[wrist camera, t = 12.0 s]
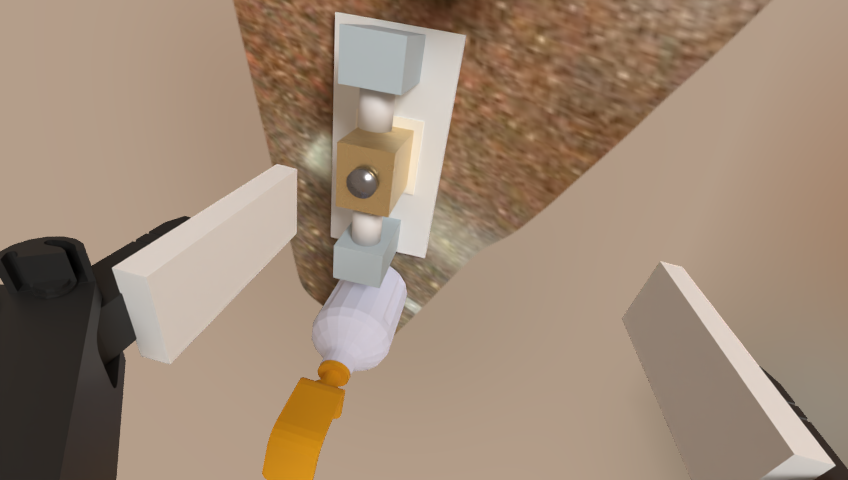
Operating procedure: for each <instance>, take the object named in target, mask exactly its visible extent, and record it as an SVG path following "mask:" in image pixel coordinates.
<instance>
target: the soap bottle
mask: <svg viewBox="0 0 848 480" xmlns="http://www.w3.org/2000/svg"><path fill="white" fill-rule="evenodd" d="M406 296H407V290H406V285H405V282H404V281H403V279H402V277H401V276H400V274H399V273H398V272H397V271H395V270H394V269H393V268H392V267H391V266H389V268H388V270H387V272H386V275H385V277H384V279H383V281H382V284H381V286H380V288H376V287H372V286H368V285H363V284H359V283H355V282H350V281H346V280H342V279H340V280H339V282H338V283H337V285H336V287H335V288H334V290H333V291H332V293H331V295H330V296H329V298H328V299H327V301H326V303H325V304H324V306H323V307H322V309H321V311H320V312H319V314H318V315H317V317H316V319H315V320H314V322H313V331H312V340H313V343H314V346H315V348H316V350H317V351H318V352H319V353H320V355H321V356H322V357H323V360H322V362H321V364H320V367H319V369H318V375H319V377H320V378H321V380H317V381H314V380H310V379H307V378H304V377H303V378H301V379H300V380H299V382H298V384H297V385H296V387H295V389H294V391H293V392H292V394H291V396H290V398H289V399H288V402H287V403H286V405H285V407H284V408H283V410H282V412H281V414H280V415H279V417H278V419H277V421H276V423H275V425H274V427H273V429H272V432H271V434H270V438H269V441H268V445H267V450H266V455H265V461H264V466H263V471H262V474H263V476H264V478H266V479H267V480H313V478H314V474H315V470H316V466H317V461H318V457H319V454H320V450H321V447H322V444H323V441H324V439H325V436H326V433H327V431H328V429H329V426H330V424H331V422H332V419H337V418H339V417H340V416H341V413H342V407H343V401H344V396H345V390H343V389H340V388H338V386H344V385H345V384H347V382H348V380H349V378H350V376H351V374H352V372H353V371H362V370H368V369H371V368H373V367H375V366H377V365H378V364H379V363H380V361H382V360H383V358H384V357H385V356H386V355H387V354H388V351H389V348H390V345H391V342H392V339H393V336H394V333H395V330H396V327H397V324H398V322H399V319H400V316H401V313H402V310H403V307H404V304H405V300H406Z"/></svg>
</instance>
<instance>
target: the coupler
mask: <svg viewBox="0 0 848 480" xmlns="http://www.w3.org/2000/svg"><path fill="white" fill-rule="evenodd" d="M413 136H414V130H409V129H403V128H398V127H393V126H392V131H391V132H387V133H375V132H369V131H365V130H362V129H360V128H359V127H358V128H356V129H355V130H353V131H352V132H350V133H349V134H348V135H346V136H345V137H343V138H342V139H340V140H339V141H338V142H337V169H336V206H337V207H342V208H347V209H351V210H356V211H361V212H365V213H370V214H374V215H379V216H384V217H389V216H390V214H391V212H392V210H393V209H394V207H395V205H396V203H397V202H398V200H399V198H400V196H401V195H402V193H403V191H404V189H405V188H406V186H407V181H408V173H409V166H410V158H411V151H412V143H413Z"/></svg>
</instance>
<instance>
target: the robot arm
mask: <svg viewBox="0 0 848 480" xmlns="http://www.w3.org/2000/svg"><path fill="white" fill-rule="evenodd" d="M296 233H297V169H294V168H291V167H287V166H283V165H279V164H276V165H275V166H273V167H271V168H270V169H268V170H267V171H265V172H264V173H262V174H260V175H259V176H257V177H255V178H254V179H252V180H251V181H249V182H248V183H246V184H244V185H243V186H241V187H240V188H238V189H236V190H235V191H233V192H232V193H230V194H228V195H227V196H225V197H224V198H222V199H220V200H219V201H217V202H216V203H214V204H213V205H211V206H209V207H208V208H206V209H205V210H203V211H202V212H200V213H198V214H197V215H195V216H193V217H192V218H190V217H187V216H184V217H180V218H178V219H174V220H171V221H168V222H165V223H163V224H162V225H160V226H158V227H156V228H155V229H153V230H151V231H150V232H149V234H145V235H143V236H141V237H140V238H138V239H137V240H136V242H131V243H129V244H128V245H126V246H124V247H123V248H121V249H119V250H117V251H116V252H114V253H112V254H111V255H109V256H107V257H106V258H104V259H102V260H101V261H99V262H97V263H96V264H94V265H92V266H91V263H90V261H89V258H88V256H87V253H86V250H85V247H84V244H83V243H81V242H80V241H78V240H77V239H73V238H68V237H43V238H37V239H31V240H27V241H24V242H21V243H18V244H14V245H12V246H10V247H8V248H6V249H4V250H2V251H0V278H1V280H2V282H3V283H4V285H0V480H116V476H117V462H118V449H119V437H120V425H121V412H122V399H123V386H124V373H125V361H126V360H125V357H124V353H123V350H124V349H125V348H127V347H128V346H129V345H130V344H131V343H133V342H134V341H135V340H136V342H137V345H138V348H139V351H140V354H141V356H142V357H146V358H149V359H153V360H156V361H160V362H163V363H167V364H171V363H172V362H173V361H174V360H175V359H176V358H177V357H178V356H179V355H180V354H181V353H182V352H183V351H184V350H185V349H186V347H188V345H190V343H191V342H192V341H193V340H194V339H195V338H196V337H197V336H198V335H199V334H200V333H201V332H202V331H203V330H204V329H205V328H206V327H207V326H208V325H209V324H210V323H211V322H212V321H213V320H214V319H215V318H216V316H217V315H218V314H219V313H220V312H221V311H222V310H223V309H224V308H225V307H226V306H227V305H228V304H229V303H230V302H231V301H232V300H233V299H234V298H235V297H236V296H237V295H238V293H240V292H241V291H242V289H243V288H244V287H245V286H246V285H247V284H248V283H249V282H250V281H251V280H252V279H253V278H254V277H255V276H256V275H257V274H258V273H259V272H260V270H262V269H263V268H264V267H265V265H267V264H268V263H269V261H270V260H271V259H272V258H273V257H274V256H275V255H276V254H277V253H278V252H279V251H280V250H281V249H282V248H283V247H284V246H285V245H286V244H287V243H288V242H289V241H290V240H291V239H292V238H293V237H294V236H295V235H296ZM622 320H623V322H624V325H625V327H626V329H627V332H628V334H629V336H630V339H631V341H632V343H633V346H634V348H635V350H636V353H637V355H638V357H639V359H640V362H641V364H642V367H643V369H644V371H645V373H646V376H647V378H648V381H649V383H650V385H651V387H652V390H653V392H654V394H655V397H656V399H657V402H658V404H659V406H660V409H661V411H662V413H663V416H664V418H665V420H666V422H667V425H668V427H669V429H670V432H671V434H672V436H673V439H674V441H675V443H676V446H677V448H678V450H679V453H680V455H681V457H682V460H683V462H684V464H685V467H686V469H687V471H688V474H689V476H690V478H691V480H848V469H847V468H846V466H845V465H844V464H843V463H842V461H841V460H840V459H839V457H838V456H837V455H836V454H835V452H834V451H833V450H832V449H831V447H830V446H829V445H828V444H827V442H826V441H825V440H824V439H823V437H822V436H821V435H820V433H819V432H818V431H817V430H816V429H815V427H814V426H813V425H812V423H810V422H808V421H807V417H806V416H805V415H804V413H803V412H802V411H801V410H800V408H799V407H798V406H795V402H794V401H793V400H792V398H791V397H790V396H789V394H788V393H787V392H786V391H785V389H784V388H783V387H782V386H781V384H780V383H778V382H777V381H776V380H775V379H774V378H773V377H772V376H771V375H769V374H768V373H767V372H766V371H765V370H764V369H763V368H761V367H760V366H758V364H757V363H756V362H755V360H754V359H753V358H752V356H751V355H750V354H749V353H748V351H747V350H746V349H745V347H744V346H743V345H742V344H741V342H740V341H739V340H738V338H737V337H736V336H735V334H734V333H733V332H732V331H731V329H730V328H729V327H728V325H727V324H726V323H725V322H724V320H723V319H722V318H721V316H720V315H719V314H718V313H717V311H716V310H715V309H714V307H713V306H712V305H711V304H710V302H709V301H708V300H707V298H706V297H705V296H704V294H703V293H702V292H701V291H700V289H699V288H698V287H697V285H696V284H695V283H694V281H693V280H692V279H691V278H690V276H689V275H688V274H687V272H686V271H685V270H684V269H683V267H681V266H677V265H673V264H668V263H665V262H661V261H660V262H659V264H658V265H657V267H656V268H655V270H654V271H653V273H652V274H651V276H650V277H649V279H648V280H647V282H646V283H645V285H644V286H643V288H642V289H641V291H640V292H639V294H638V295H637V297H636V298H635V300H634V301H633V303H632V304H631V306H630V307H629V309H628V310H627V312H626V313H625V315H624V316H623V318H622Z"/></svg>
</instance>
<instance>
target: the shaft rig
mask: <svg viewBox="0 0 848 480" xmlns="http://www.w3.org/2000/svg"><path fill="white" fill-rule="evenodd" d="M465 41H466V35H463V34H457V33H451V32H446V31H440V30H435V29H429V28H424V27H418V26H412V25H407V24H401V23H396V22H390V21H385V20H379V19H373V18H368V17H362V16H357V15H351V14H346V13H340V12H335V47H334V98H333V148H332V198H331V237H333V238H337V239H338V241H337V242H336V243H335V245H334V261H333V278H337V279H342V280H346V281H350V282H355V283H359V284H363V285H368V286H372V287H376V288H380V286H381V284H382V281H383V279H384V277H385V275H386V272H387V270H388V268H389V266H390V264H391V261H392V259H393V257H394V255H395V253H396V252H400V253H404V254H409V255H413V256H417V257H422V258H425V255H426V251H427V246H428V240H429V235H430V230H431V224H432V219H433V213H434V208H435V203H436V197H437V192H438V186H439V181H440V176H441V170H442V165H443V159H444V154H445V149H446V143H447V138H448V132H449V127H450V122H451V116H452V111H453V105H454V100H455V95H456V89H457V84H458V78H459V73H460V68H461V62H462V57H463V51H464V46H465ZM392 126H393V127H398V128H403V129H409V130H414V136H413V143H412V151H411V158H410V166H409V173H408V181H407V186H406V188H405V189H404V191H403V193H402V195H401V196H400V198H399V200H398V202H397V203H396V205H395V207H394V209H393V210H392V212H391V214H390V216H389V217H384V216H379V215H374V214H370V213H365V212H361V211H356V210H351V209H347V208H342V207H337V206H336V169H337V142H338V141H339V140H340V139H342V138H343V137H345V136H346V135H348V134H349V133H350V132H352V131H353V130H355V129H356V128H358V127H359V128H360V129H362V130H365V131H369V132H375V133H387V132H391V131H392Z"/></svg>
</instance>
